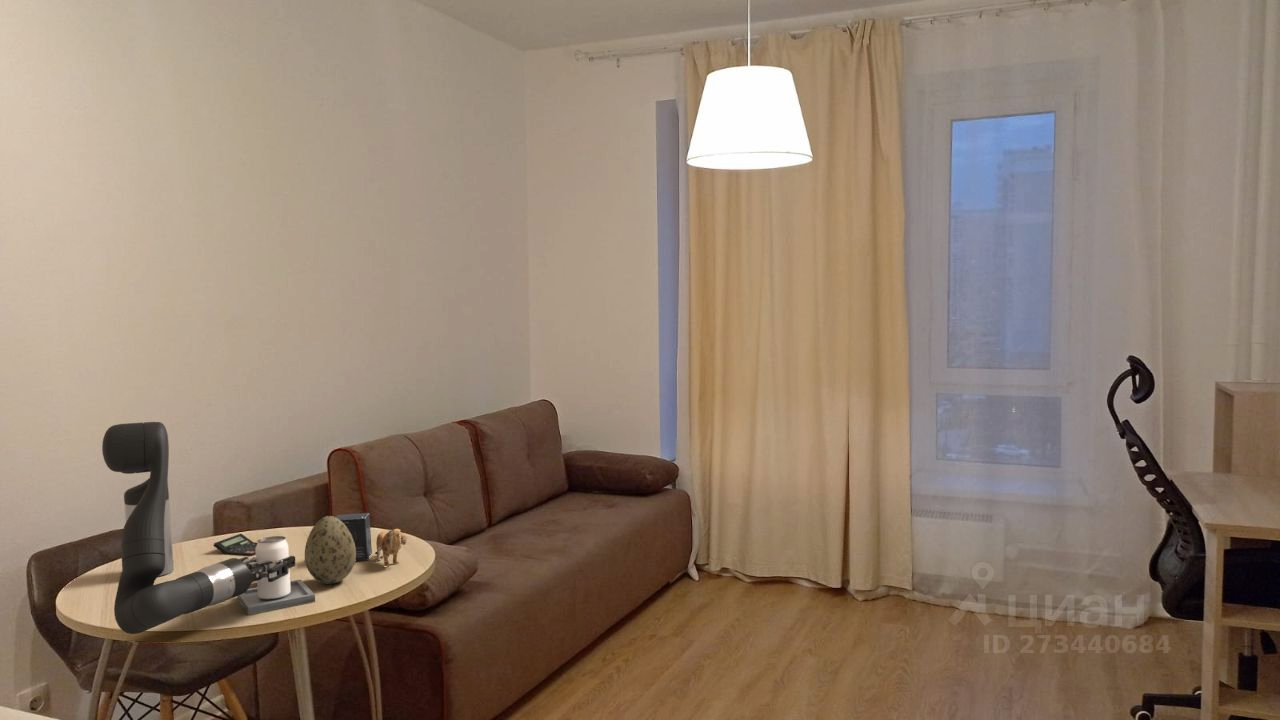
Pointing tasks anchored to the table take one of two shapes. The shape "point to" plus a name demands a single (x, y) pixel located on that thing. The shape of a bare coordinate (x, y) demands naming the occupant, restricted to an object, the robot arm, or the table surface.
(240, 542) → the calculator
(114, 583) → the table surface
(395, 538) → the lion figurine
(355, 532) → the box
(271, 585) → the can
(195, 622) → the table surface
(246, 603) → the tray
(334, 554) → the decorative egg
